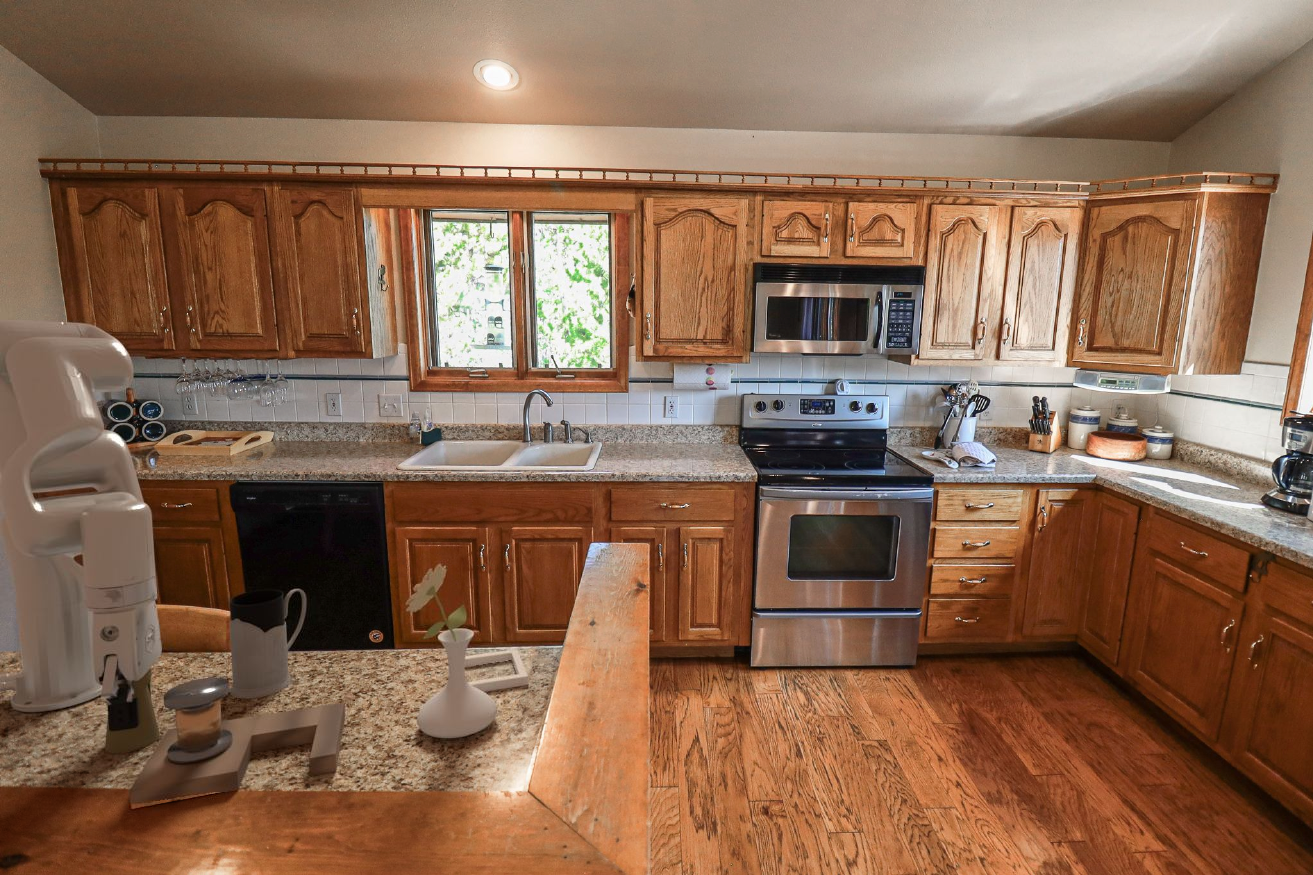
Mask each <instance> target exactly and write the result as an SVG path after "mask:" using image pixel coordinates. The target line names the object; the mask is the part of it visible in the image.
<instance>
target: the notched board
mask: <svg viewBox="0 0 1313 875" xmlns="http://www.w3.org/2000/svg"><path fill="white" fill-rule="evenodd" d="M345 712H346V707H345V702H339V703H331V704H326V705H318V706H313V707H305V708H300V709H293V710H292V709H291V710H287V711H279V712H272V713H266V714H259V715H254V716H253V715H252V716H248V717H241V718H233V719H227V720H221V721H222V729H225V730H228V731H230V732H231V733H232V738H233V743H232V745H231V746H230V748H229V749H228V750H226V751H225V752H224V753H222V754H220V755H219V756H217V757H215V758H212V759H210V760H207V761H204V762H200V763H196V764H190V765H176V764H172V763H170V762H169V761H168V754H167V751H168V749H169V747H170V746H171V745H172V744H173V743H174V742H176V741H177V728H176V727H175V728H169V729H167V730H166V732H165V734H164V735H163V737H162V738H161V740H160V741H159V743H158V744H157V746H156V748H155V749H154V750H153V752H152V754H151V756H150V757H149V758H148V760H147V762H146V764H145V765H144V766H143V768H142V769H141V771H140V773H139V775H138V776H137V777H136V779H135V780H134V782H133V784H132V785H131V787H130V788H129V802H130V805H131V804H141V803H150V802H153V801H160V800H165V799H167V800H168V799H174V798H177V797H185V796H190V795H199V794H206V793H210V792H211V793H212V792H225V793H230V792H235V791H239V790H240V787H241V785H242V782H243V780H244V777H245V774H246V772H247V770H248V769H247V768H248V767H249V763H250V760H251V758H252V755H253V753H259V752H264V751H265V752H266V751H270V750H276V749H283V748H288V747H294V746H300V745H305V744H310V743H312V746H311V747H312V748H311V752H310V756H309V771H310V772H309V773H310V777H315V776H320V775H326V774H332V773H336V772H337V770H338V762H339V757H340V752H341V751H340V750H341V745H342V739H343V732H344V727H345V720H346V715H345V714H346V713H345ZM229 791H230V792H229Z"/></svg>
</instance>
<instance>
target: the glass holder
mask: <svg viewBox="0 0 1313 875" xmlns="http://www.w3.org/2000/svg"><path fill="white" fill-rule="evenodd" d="M296 592H299V593H300V596H301V611H300V617H299V621H298V624H297V626H296V628H295V631H294V633H293V634H292V635H291V638H290V639H289V641H288V639H287V622H286V621H285V619H286V618H287V616H288V612H289V610H288V608H289V607H288V606H289V601H290V598H291V597H292V596H293V594H294V593H296ZM229 613H230V614H229V615H230V620H229V638H230V656H231V670H232V671H231V673H232V686H231V687H230V690H229V693H230V695H231V696H232V697H234V698H236V697H237V699H257V698H262V697H267V696H269V695H274V694H276V693H279V692H280V690H281V691H282V690H284V689H286V688H287V687H288V686H289V685H290V684H291V683H290V681H291V678H292V676H291V674H290V673H289V662H288V660H289V659H288V651H289V650H290V649H291V646H292V645H293V643H294V642H295V640H296V638H297V636H298V635H299V633H300V631H301V629H302V628H303V624H304V620H305V617H306V613H307V594H306V593H305V592H304V590H302V589H300V588H294V589H291V590H290V591H289V592H288V593H287V594H286V595H285V598H284V592H283V591H281V590H279V589H259V590H252V591H251V590H250V591H247V592H243V593H241V594H237V595H235V596H233V597H232V598H230V599H229ZM291 682H292V681H291ZM289 683H290V684H289ZM287 685H288V686H287ZM286 686H287V687H286ZM285 687H286V688H285ZM283 688H284V689H283Z"/></svg>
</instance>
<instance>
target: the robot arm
mask: <svg viewBox="0 0 1313 875" xmlns="http://www.w3.org/2000/svg"><path fill="white" fill-rule="evenodd" d="M134 376H135V375H134V364H133V361H132V358H131V356H130V354H129V352H128V351H127V349H126V348H125V346H124V344H122V343H121V342H120V340H118V339H117V338H115V337H114V336H112V335H111V334H109V333H108V332H106V331H104V330H103V329H101V328H100V327H97V326H95V325H94V324H89V323H83V322H69V321H68V322H67V321H45V320H33V319H32V320H29V319H9V318H8V319H6V318H4V319H3V318H0V476H1V477H0V504H1V508H2V510H3V515H2V517H1V519H0V536H1V539H2V542H3V545H4V548H5V552H6V555H7V558H8V561H9V564H10V570H11V574H12V580H13V587H14V596H15V606H16V615H17V627H18V637H19V648H20V657H21V658H20V659H21V670H19V671H18V672H16V673H15V672H14V673H10V672H9V673H8V672H7V673H0V692H6V691H12V692H15V693H14V694H13V695H12V696H11V699H10V704H11V708H12V709H13V710H16V711H19V712H23V713H41V712H42V713H43V712H48V711H49V712H50V711H54V710H59V709H60V710H61V709H64V708H67V707H73V706H76V705H79V704H82V703H83V704H84V703H85V702H87V701H90V700H93V699H95V698H97V697H99V696H101V697H102V698H104V699H105V704H106V706H107V707H106V708H107V720H108V721H109V730H110V731H119V730H126V729H133V728H136V727H138V725H139V712H138V698H134V681H138V680H139V679H141V678H142V677H143V676H144V675H145V674H146V673H147V671H148V670H149V669H150V668H151V669H152V667H153V665H155V663H156V662H157V661H158V659H159V658H160V656H161V654H162V651H163V648H162V640H161V639H162V638H161V633H160V632H161V630H160V621H159V616H158V610H157V604H156V600H157V599H158V592H157V591H158V588H157V575H156V561H155V549H154V548H155V547H154V533H153V532H154V529H153V514H152V510H151V508H150V506H149V505H148V504H147V503H145V501H144V498H143V495H142V490H141V487H140V483H139V480H138V477H137V473H136V469H135V464H134V461H133V459H132V454H131V451H130V449H129V447H128V444H127V443H126V441H125V440H124V438H122V436H120V435H119V433H116V432H115V431H112V430H108V429H105V423H104V421H103V419H102V415H101V412H100V409H99V407H98V404H97V403H98V402H97V401H96V398H95V397H96V396H95V394H94V393H116V392H117V393H118V392H123V391H125V390H127V389H128V388H129V387H130V386H131V385H132V382H133V380H134ZM83 488H84V489H85V488H94V489H95V490H96V491H93V492H85V493H84V492H83V493H73V494H72V493H71V494H65V495H64V494H63V495H56V496H48V497H47V496H46V497H41V498H35V497H34V494H36V493H47V492H56V491H57V492H58V491H66V490H67V491H68V490H76V489H77V490H78V489H83ZM80 555H82V565H81V564H80V563H78V562H77V561H76V560H75V559H74V558H75V557H77V556H80ZM119 675H124V677H125V678H123V679H118V677H119ZM120 684H126V690H125V689H124V688H119V687H118V685H120ZM148 689H149V693H150V697H151V698H152V692H151V691H152V690H151V681H150V682H149V684H148Z"/></svg>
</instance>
